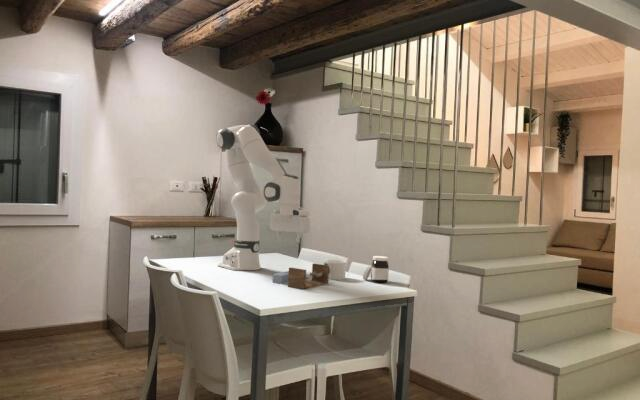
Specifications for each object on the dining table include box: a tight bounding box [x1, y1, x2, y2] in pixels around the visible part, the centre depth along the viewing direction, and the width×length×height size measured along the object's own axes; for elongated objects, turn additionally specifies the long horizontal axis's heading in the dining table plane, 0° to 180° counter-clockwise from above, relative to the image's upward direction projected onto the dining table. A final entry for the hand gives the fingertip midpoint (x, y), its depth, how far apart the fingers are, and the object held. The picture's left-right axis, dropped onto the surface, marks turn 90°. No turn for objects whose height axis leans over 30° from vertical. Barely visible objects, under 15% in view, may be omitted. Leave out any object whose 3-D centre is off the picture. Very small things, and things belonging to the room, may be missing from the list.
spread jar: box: [362, 255, 390, 284], centre depth 245 cm, size 12×11×12 cm
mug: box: [323, 258, 347, 281], centre depth 250 cm, size 13×10×8 cm
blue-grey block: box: [272, 270, 289, 285], centre depth 235 cm, size 14×5×4 cm, turn 146°
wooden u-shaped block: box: [287, 263, 330, 290], centre depth 228 cm, size 19×8×8 cm, turn 146°
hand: (288, 241), depth 234 cm, fingers open, 8 cm apart
